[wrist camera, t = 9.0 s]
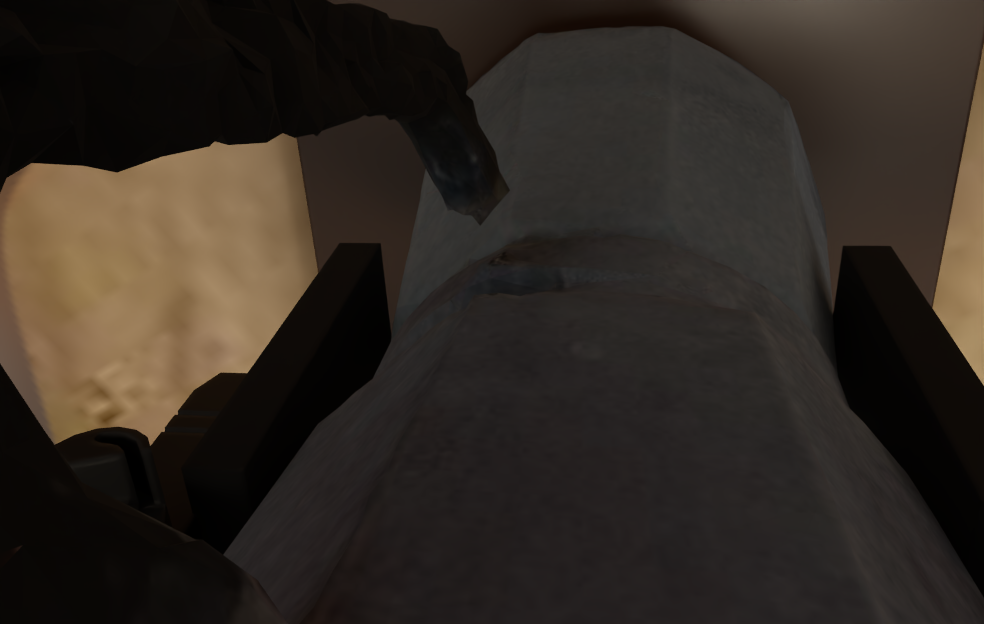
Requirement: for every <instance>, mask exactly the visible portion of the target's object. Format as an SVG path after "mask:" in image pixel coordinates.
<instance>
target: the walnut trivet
mask: <svg viewBox="0 0 984 624" xmlns="http://www.w3.org/2000/svg"><path fill="white" fill-rule="evenodd" d="M327 1H329V2H331V3H333V4H346V3H360V4H363V5H366V6H369V7H372V8H375V9H377V10H379V11H382V12H384V13H387V14H388V16H389V18H391V19H396V20H404V21H407V22H409V23H412V24H418V25H424V26H429V27H433V28H437V29H438V30H439V32H440V33H441V35H442V36H443V38H444V40H445V41H446V43H447V44H448V46H450V47H451V48H453V49H454V50H456V51H458V52H459V53H460V55H461V58H462V62H463V65H464V68H465V72H466V75H467V78H468V86H467V90H469V89H470V88H471V87H472V86H473V85H474V84H475V83H476V82H477V81H478V79H479V78H480V77H481V76H482V75H484V74H485V73H487V72H488V71H490V70H491V69H492V68H493V67H494V66H495V65H496V64H497V63H498V62H499V61H500V60H501V59H502V58H504V57H505V56H506V55H507V54H509V53H510V52H511V51H513V50H514V49H515V48H517V47H518V46H519V45H520V44H521V43H522V42H523V41H524V40H526V39H527V38H529V37H531V36H533V35H535V34H537V33H558V32H566V31H574V30H581V29H592V28H604V27H607V28H620V27H625V26H664V27H669V28H674V29H677V30H679V31H681V32H682V33H684V34H686V35H688V36H690V37H692V38H694V39H696V40H698V41H700V42H702V43H704V44H705V45H707V46H709V47H711V48H713V49H715V50H717V51H719V52H721V53H723V54H724V55H726V56H728V57H730V58H732V59H733V60H735V61H737V62H738V63H740V64H741V65H743V66H744V67H746V68H747V69H748V70H750V71H751V72H753V73H754V74H755V75H757V76H758V77H759V78H761V79H762V80H763V81H765V82H766V83H767V84H768V85H770V86H771V87H772V88H774V89H775V90H776V91H777V92H778V93H779V94H781V95H782V96H783V97H784V98H785V99H786V100H787V101H789V104H790V107H791V110H792V112H793V115H794V118H795V120H796V122H797V125H798V128H799V132H800V135H801V139H802V142H803V146H804V149H805V152H806V155H807V158H808V160H809V163H810V167H811V170H812V174H813V177H814V180H815V183H816V186H817V189H818V193H819V197H820V201H821V204H822V207H823V211H824V214H825V222H826V231H827V249H828V258H829V268H830V281H831V294H832V307H833V311H834V304H835V297H836V290H837V283H838V277H839V270H840V263H841V256H842V249H843V246H891V247H892V248H893V250H894V251H895V253H896V254H897V256H898V257H899V259H900V260H901V262H902V263H903V265H904V266H905V268H906V269H907V271H908V272H909V274H910V276H911V277H912V279H913V280H914V282H915V283H916V285H917V286H918V288H919V289H920V291H921V292H922V294H923V295H924V297H925V298H926V300H927V301H928V303H929V304H930V306H931V307H933V301H934V296H935V291H936V286H937V281H938V276H939V270H940V265H941V260H942V255H943V250H944V245H945V240H946V234H947V229H948V224H949V219H950V214H951V209H952V204H953V198H954V193H955V188H956V183H957V178H958V173H959V168H960V162H961V157H962V152H963V147H964V142H965V137H966V132H967V126H968V121H969V116H970V111H971V106H972V101H973V95H974V90H975V85H976V80H977V75H978V70H979V65H980V59H981V54H982V49H983V44H984V0H327ZM297 143H298V150H299V156H300V162H301V168H302V174H303V181H304V187H305V193H306V199H307V205H308V212H309V218H310V224H311V230H312V236H313V243H314V249H315V255H316V261H317V267H318V273H319V271H320V270H321V269H322V267H323V266H324V264H325V263H326V261H327V260H328V259H329V257H330V256H331V254H332V253H333V252H334V250H335V249H336V247H337V246H338V244H339V243H381V250H382V259H383V267H384V276H385V285H386V293H387V302H388V311H389V319H390V328H391V336H392V329H393V322H394V317H395V313H396V308H397V303H398V298H399V293H400V288H401V284H402V279H403V274H404V269H405V265H406V260H407V256H408V252H409V249H410V243H411V238H412V233H413V228H414V224H415V220H416V215H417V211H418V206H419V202H420V196H421V189H422V183H423V179H424V174H425V170H426V168H425V166H424V164H423V162H422V160H421V158H420V156H419V155H418V153H417V151H416V149H415V147H414V145H413V143H412V141H411V139H410V138H409V137H408V135H407V134H406V132H405V131H404V130H403V128H402V127H401V125H400V124H399V123H398V121H396V120H395V119H393V120H389V119H388V118H387V117H386V116H385V115H382V116H372V117H368V116H365V115H364V116H362V117H361V118H359V119H357V120H354V121H350V122H347V123H344V124H341V125H338V126H335V127H332V128H329V129H326V130H323V131H321V133H320V134H319V135H318V136H315V135H314V134H312V135H306V136H301V137H297Z"/></svg>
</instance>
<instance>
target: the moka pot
mask: <svg viewBox="0 0 984 624" xmlns="http://www.w3.org/2000/svg"><path fill="white" fill-rule="evenodd" d="M467 86H468V78H467V75H466V72H465V68H464V65H463V62H462V58H461V55H460V53H459V52H458V51H456V50H454V49H453V48H451V47H450V46H448V44H447V43H446V41H445V40H444V38H443V36H442V35H441V33H440V32H439V30H438V29H437V28H433V27H429V26H424V25H418V24H412V23H409V22H407V21H404V20H396V19H391V18H389V16H388V14H387V13H384V12H382V11H379V10H377V9H375V8H372V7H369V6H366V5H363V4H360V3H346V4H333V3H331V2H329V1H327V0H0V192H1V190H2V187H3V185H4V182H5V180H6V178H7V177H9V176H10V175H12V174H14V173H15V172H17V171H19V170H20V169H22V168H24V167H25V166H27V165H29V164H30V163H44V164H63V165H81V166H88V167H93V168H98V169H103V170H107V171H112V172H120V171H122V170H125V169H128V168H131V167H134V166H137V165H139V164H142V163H145V162H148V161H151V160H153V159H156V158H159V157H162V156H167V155H171V154H176V153H181V152H185V151H190V150H195V149H199V148H204V147H209V146H210V145H211V144H212V143H213V142H214V141H216V142H220V143H223V144H227V145H235V144H250V143H266V142H268V141H270V140H272V139H273V138H275V137H277V136H278V135H280V134H282V133H284V134H287V135H289V136H292V137H294V138H296V137H301V136H306V135H312V134H314V135H315V136H318V135H319V134H320V133H321V131H323V130H326V129H329V128H332V127H335V126H338V125H341V124H344V123H347V122H350V121H354V120H357V119H359V118H361V117H362V116H364V115H365V116H368V117H372V116H382V115H385V116H386V117H387V118H388V119H389V120H393V119H395V120H396V121H398V123H399V124H400V125H401V127H402V128H403V130H404V131H405V132H406V134H407V135H408V137H409V138H410V139H411V141H412V143H413V145H414V147H415V149H416V151H417V153H418V155H419V156H420V158H421V160H422V162H423V164H424V166H425V168H426V170H425V174H424V179H423V183H422V189H421V196H420V202H419V206H418V211H417V215H416V220H415V224H414V228H413V233H412V238H411V243H410V249H409V252H408V256H407V260H406V265H405V269H404V274H403V279H402V284H401V288H400V293H399V298H398V303H397V308H396V313H395V317H394V322H393V329H392V337H391V343H390V345H389V347H388V349H387V351H386V353H385V355H384V357H383V359H382V361H381V363H380V365H379V367H378V369H377V371H376V373H375V375H374V377H373V379H372V380H371V381H369V382H368V383H367V384H365V385H364V386H363V387H362V388H360V389H359V390H358V391H356V392H355V393H354V394H353V395H352V396H351V397H350V398H349V399H347V400H346V401H345V402H344V403H343V404H342V405H341V406H340V407H339V408H337V409H336V410H335V411H334V412H332V413H331V414H330V415H329V416H327V417H326V418H325V419H324V420H322V421H321V422H320V423H318V424H317V426H316V427H315V429H314V430H313V431H312V433H311V434H310V436H309V437H308V438H307V440H306V441H305V443H304V444H303V445H302V447H301V448H300V450H299V451H298V452H297V454H296V455H295V456H294V458H293V459H292V461H291V462H290V463H289V465H288V466H287V468H286V469H285V470H284V472H283V473H282V475H281V476H280V477H279V479H278V480H277V481H276V483H275V484H274V486H273V487H272V488H271V490H270V491H269V492H268V494H267V495H266V497H265V498H264V499H263V501H262V502H261V503H260V505H259V506H258V508H257V509H256V510H255V512H254V513H253V514H252V516H251V517H250V519H249V520H248V521H247V523H246V524H245V526H244V527H243V528H242V530H241V531H240V532H239V534H238V535H237V537H236V538H235V539H234V541H233V542H232V543H231V545H230V546H229V548H228V549H227V550H226V552H225V553H224V554H221V553H220V552H219V551H217V550H216V549H214V548H213V547H212V546H210V545H209V544H208V543H206V542H205V541H204V540H195V539H194V538H192V537H190V536H188V535H186V534H184V533H182V532H180V531H178V530H176V529H174V528H172V527H170V526H168V525H166V524H164V523H162V522H160V521H158V520H156V519H154V518H152V517H150V516H148V515H146V514H144V513H142V512H140V511H138V510H136V509H134V508H132V507H130V506H128V505H126V504H124V503H122V502H120V501H118V500H116V499H114V498H112V497H110V496H108V495H106V494H104V493H102V492H100V491H98V490H96V489H94V488H92V487H90V486H88V485H87V484H85V483H83V482H81V481H80V479H79V478H78V476H77V475H76V474H75V472H74V471H73V470H72V468H71V467H70V465H69V464H68V463H67V461H66V460H65V459H64V457H63V456H62V454H61V453H60V452H59V450H58V449H57V448H56V446H55V445H54V443H53V442H52V441H51V439H50V438H49V437H48V435H47V434H46V432H45V431H44V429H43V428H42V426H41V425H40V423H39V422H38V420H37V419H36V417H35V416H34V414H33V413H32V411H31V410H30V408H29V407H28V405H27V404H26V402H25V401H24V399H23V398H22V396H21V395H20V393H19V392H18V390H17V389H16V387H15V385H14V384H13V382H12V381H11V379H10V378H9V376H8V375H7V373H6V372H5V370H4V369H3V367H2V366H1V364H0V624H984V597H983V596H982V594H981V592H980V591H979V589H978V587H977V586H976V584H975V582H974V581H973V579H972V578H971V576H970V574H969V573H968V571H967V569H966V568H965V566H964V564H963V563H962V561H961V559H960V558H959V556H958V554H957V553H956V551H955V549H954V548H953V546H952V544H951V543H950V541H949V539H948V538H947V536H946V534H945V533H944V531H943V529H942V528H941V526H940V524H939V523H938V521H937V519H936V518H935V516H934V514H933V513H932V511H931V510H930V508H929V507H928V505H927V503H926V502H925V500H924V499H923V497H922V496H921V494H920V493H919V491H918V489H917V488H916V486H915V485H914V483H913V482H912V480H911V478H910V477H909V475H908V474H907V473H906V472H905V470H904V469H903V468H902V467H901V466H900V465H899V463H898V462H897V461H896V460H895V459H894V457H893V456H892V455H891V454H890V453H889V452H888V450H887V449H886V448H885V447H884V446H883V445H882V443H881V442H880V441H879V440H878V439H877V437H876V436H875V435H874V434H873V433H872V432H871V430H870V429H869V428H868V427H867V426H866V424H865V423H864V422H863V421H862V420H861V419H860V418H859V417H858V416H857V415H856V414H855V413H854V412H853V411H852V410H851V409H850V408H849V405H848V402H847V400H846V397H845V394H844V391H843V389H842V386H841V383H840V380H839V378H838V370H837V360H836V351H835V340H834V321H833V307H832V294H831V281H830V268H829V258H828V249H827V231H826V222H825V214H824V211H823V207H822V204H821V201H820V197H819V193H818V189H817V186H816V183H815V180H814V177H813V174H812V170H811V167H810V163H809V160H808V158H807V155H806V152H805V149H804V146H803V142H802V139H801V135H800V132H799V128H798V125H797V122H796V120H795V118H794V115H793V112H792V110H791V107H790V104H789V101H787V100H786V99H785V98H784V97H783V96H782V95H781V94H779V93H778V92H777V91H776V90H775V89H774V88H772V87H771V86H770V85H768V84H767V83H766V82H765V81H763V80H762V79H761V78H759V77H758V76H757V75H755V74H754V73H753V72H751V71H750V70H748V69H747V68H746V67H744V66H743V65H741V64H740V63H738V62H737V61H735V60H733V59H732V58H730V57H728V56H726V55H724V54H723V53H721V52H719V51H717V50H715V49H713V48H711V47H709V46H707V45H705V44H704V43H702V42H700V41H698V40H696V39H694V38H692V37H690V36H688V35H686V34H684V33H682V32H681V31H679V30H677V29H674V28H669V27H664V26H625V27H620V28H607V27H604V28H592V29H581V30H574V31H566V32H558V33H537V34H535V35H533V36H531V37H529V38H527V39H526V40H524V41H523V42H522V43H521V44H520V45H519V46H518V47H517V48H515V49H514V50H513V51H511V52H510V53H509V54H507V55H506V56H505V57H504V58H502V59H501V60H500V61H499V62H498V63H497V64H496V65H495V66H494V67H493V68H492V69H491V70H490V71H488V72H487V73H485V74H484V75H482V76H481V77H480V78H479V79H478V81H477V82H476V83H475V84H474V85H473V86H472V87H471V88H470V89H469V90H467Z"/></svg>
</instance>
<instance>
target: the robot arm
mask: <svg viewBox="0 0 984 624" xmlns="http://www.w3.org/2000/svg"><path fill="white" fill-rule="evenodd" d="M833 321H834V340H835V351H836V360H837V370H838V378H839V380H840V383H841V386H842V389H843V391H844V394H845V397H846V400H847V402H848V405H849V408H850V409H851V410H852V411H853V412H854V413H855V414H856V415H857V416H858V417H859V418H860V419H861V420H862V421H863V422H864V423H865V424H866V426H867V427H868V428H869V429H870V430H871V432H872V433H873V434H874V435H875V436H876V437H877V439H878V440H879V441H880V442H881V443H882V445H883V446H884V447H885V448H886V449H887V450H888V452H889V453H890V454H891V455H892V456H893V457H894V459H895V460H896V461H897V462H898V463H899V465H900V466H901V467H902V468H903V469H904V470H905V472H906V473H907V474H908V475H909V477H910V478H911V480H912V482H913V483H914V485H915V486H916V488H917V489H918V491H919V493H920V494H921V496H922V497H923V499H924V500H925V502H926V503H927V505H928V507H929V508H930V510H931V511H932V513H933V514H934V516H935V518H936V519H937V521H938V523H939V524H940V526H941V528H942V529H943V531H944V533H945V534H946V536H947V538H948V539H949V541H950V543H951V544H952V546H953V548H954V549H955V551H956V553H957V554H958V556H959V558H960V559H961V561H962V563H963V564H964V566H965V568H966V569H967V571H968V573H969V574H970V576H971V578H972V579H973V581H974V582H975V584H976V586H977V587H978V589H979V591H980V592H981V594H982V596H983V597H984V386H983V384H982V383H981V381H980V380H979V378H978V376H977V375H976V373H975V372H974V370H973V369H972V367H971V366H970V364H969V363H968V361H967V360H966V358H965V357H964V355H963V354H962V352H961V351H960V349H959V348H958V346H957V345H956V343H955V342H954V340H953V339H952V337H951V336H950V334H949V333H948V331H947V330H946V328H945V327H944V325H943V324H942V322H941V321H940V319H939V318H938V316H937V315H936V313H935V312H934V310H933V309H932V307H931V306H930V304H929V303H928V301H927V300H926V298H925V297H924V295H923V294H922V292H921V291H920V289H919V288H918V286H917V285H916V283H915V282H914V280H913V279H912V277H911V276H910V274H909V272H908V271H907V269H906V268H905V266H904V265H903V263H902V262H901V260H900V259H899V257H898V256H897V254H896V253H895V251H894V250H893V248H892V247H891V246H843V249H842V256H841V263H840V270H839V277H838V283H837V290H836V297H835V304H834V311H833ZM391 337H392V336H391V328H390V319H389V311H388V302H387V293H386V285H385V276H384V267H383V259H382V250H381V243H339V244H338V246H337V247H336V249H335V250H334V252H333V253H332V254H331V256H330V257H329V259H328V260H327V261H326V263H325V264H324V266H323V267H322V269H321V270H320V271H319V273H318V274H317V276H316V277H315V278H314V280H313V281H312V283H311V284H310V286H309V287H308V288H307V290H306V291H305V293H304V294H303V295H302V297H301V298H300V300H299V301H298V303H297V304H296V305H295V307H294V308H293V310H292V311H291V312H290V314H289V315H288V317H287V318H286V320H285V321H284V322H283V324H282V325H281V327H280V328H279V329H278V331H277V332H276V334H275V335H274V337H273V338H272V339H271V341H270V342H269V344H268V345H267V346H266V348H265V349H264V351H263V352H262V354H261V355H260V356H259V358H258V359H257V361H256V362H255V363H254V365H253V366H252V368H251V369H250V371H249V372H248V373H220V374H218V375H217V376H215V377H214V378H212V379H211V380H209V381H207V382H206V383H204V384H203V385H201V386H200V387H198V388H197V389H195V390H194V391H193V392H192V394H191V395H190V396H189V398H188V399H187V400H186V401H185V403H184V404H183V405H182V406H181V408H180V409H179V410H178V415H174V417H173V418H172V419H171V421H170V422H169V423H168V424H167V426H166V427H165V432H161V433H160V435H159V436H158V437H157V438H156V440H155V441H154V442H153V444H152V445H151V446H150V444H149V441H148V437H146V436H145V435H143V434H142V433H140V432H139V431H137V430H134V429H128V428H122V427H111V428H99V429H94V430H91V431H87V432H84V433H80V434H77V435H74V436H72V437H70V438H68V439H66V440H64V441H62V442H60V443H58V444H55V446H56V448H57V449H58V450H59V452H60V453H61V454H62V456H63V457H64V459H65V460H66V461H67V463H68V464H69V465H70V467H71V468H72V470H73V471H74V472H75V474H76V475H77V476H78V478H79V479H80V481H81V482H83V483H85V484H87V485H88V486H90V487H92V488H94V489H96V490H98V491H100V492H102V493H104V494H106V495H108V496H110V497H112V498H114V499H116V500H118V501H120V502H122V503H124V504H126V505H128V506H130V507H132V508H134V509H136V510H138V511H140V512H142V513H144V514H146V515H148V516H150V517H152V518H154V519H156V520H158V521H160V522H162V523H164V524H166V525H168V526H170V527H172V528H174V529H176V530H178V531H180V532H182V533H184V534H186V535H188V536H190V537H192V538H194V539H195V540H204V541H205V542H206V543H208V544H209V545H210V546H212V547H213V548H214V549H216V550H217V551H219V552H220V553H221V554H224V553H225V552H226V550H227V549H228V548H229V546H230V545H231V543H232V542H233V541H234V539H235V538H236V537H237V535H238V534H239V532H240V531H241V530H242V528H243V527H244V526H245V524H246V523H247V521H248V520H249V519H250V517H251V516H252V514H253V513H254V512H255V510H256V509H257V508H258V506H259V505H260V503H261V502H262V501H263V499H264V498H265V497H266V495H267V494H268V492H269V491H270V490H271V488H272V487H273V486H274V484H275V483H276V481H277V480H278V479H279V477H280V476H281V475H282V473H283V472H284V470H285V469H286V468H287V466H288V465H289V463H290V462H291V461H292V459H293V458H294V456H295V455H296V454H297V452H298V451H299V450H300V448H301V447H302V445H303V444H304V443H305V441H306V440H307V438H308V437H309V436H310V434H311V433H312V431H313V430H314V429H315V427H316V426H317V424H318V423H320V422H321V421H322V420H324V419H325V418H326V417H327V416H329V415H330V414H331V413H332V412H334V411H335V410H336V409H337V408H339V407H340V406H341V405H342V404H343V403H344V402H345V401H346V400H347V399H349V398H350V397H351V396H352V395H353V394H354V393H355V392H356V391H358V390H359V389H360V388H362V387H363V386H364V385H365V384H367V383H368V382H369V381H371V380H372V379H373V377H374V375H375V373H376V371H377V369H378V367H379V365H380V363H381V361H382V359H383V357H384V355H385V353H386V351H387V349H388V347H389V345H390V343H391Z"/></svg>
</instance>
